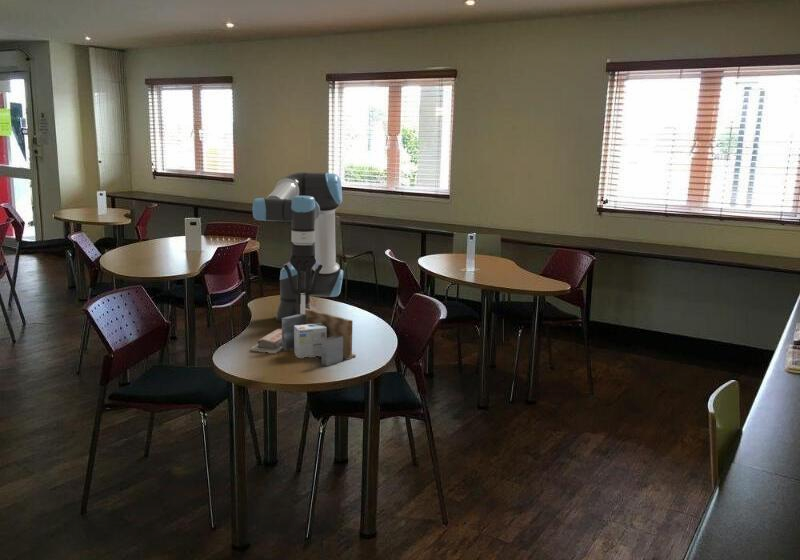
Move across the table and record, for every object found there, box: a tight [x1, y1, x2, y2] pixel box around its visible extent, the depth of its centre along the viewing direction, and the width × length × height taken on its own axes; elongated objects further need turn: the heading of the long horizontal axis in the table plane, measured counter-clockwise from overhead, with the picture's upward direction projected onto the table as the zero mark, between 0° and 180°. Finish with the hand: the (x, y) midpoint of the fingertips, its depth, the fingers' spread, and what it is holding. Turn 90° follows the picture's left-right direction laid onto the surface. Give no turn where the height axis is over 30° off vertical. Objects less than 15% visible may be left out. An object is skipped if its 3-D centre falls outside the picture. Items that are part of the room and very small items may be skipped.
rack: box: [281, 308, 357, 360], centre depth 237 cm, size 25×13×14 cm, turn 50°
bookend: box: [321, 335, 344, 367], centre depth 228 cm, size 2×8×9 cm, turn 140°
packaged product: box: [250, 328, 283, 354], centre depth 246 cm, size 18×5×10 cm
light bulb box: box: [293, 323, 327, 359], centre depth 236 cm, size 11×7×11 cm, turn 114°
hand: (302, 313), depth 220 cm, fingers closed
